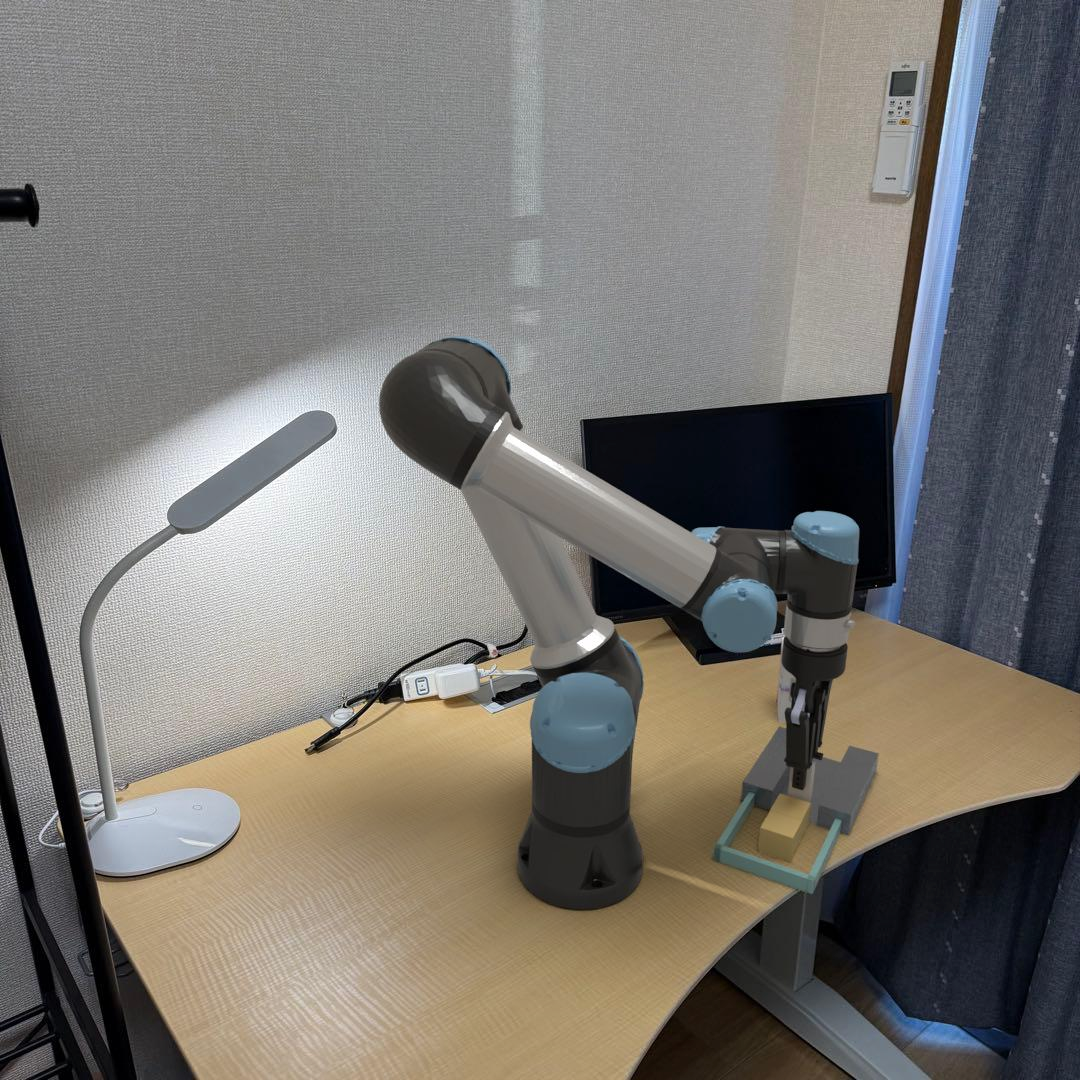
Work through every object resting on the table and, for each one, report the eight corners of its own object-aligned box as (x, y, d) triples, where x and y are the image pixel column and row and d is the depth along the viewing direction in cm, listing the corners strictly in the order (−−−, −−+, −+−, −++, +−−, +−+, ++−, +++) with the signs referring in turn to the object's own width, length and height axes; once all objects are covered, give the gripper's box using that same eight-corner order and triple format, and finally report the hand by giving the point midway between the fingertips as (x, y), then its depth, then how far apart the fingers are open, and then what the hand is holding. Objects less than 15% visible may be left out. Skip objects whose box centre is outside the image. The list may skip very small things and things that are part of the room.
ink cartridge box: (774, 701, 154) (782, 618, 149) (806, 704, 153) (815, 620, 148) (776, 728, 146) (784, 641, 141) (809, 732, 145) (819, 645, 140)
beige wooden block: (798, 846, 119) (801, 819, 118) (767, 836, 121) (770, 809, 120) (807, 829, 122) (810, 803, 121) (777, 819, 124) (779, 793, 123)
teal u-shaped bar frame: (811, 902, 111) (813, 881, 110) (712, 867, 116) (714, 847, 115) (839, 840, 121) (841, 820, 120) (747, 811, 127) (749, 791, 126)
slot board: (847, 842, 121) (851, 814, 119) (740, 808, 127) (742, 781, 126) (875, 779, 134) (878, 753, 132) (776, 751, 140) (779, 726, 139)
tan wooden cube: (789, 865, 116) (792, 838, 114) (757, 854, 118) (760, 827, 116) (799, 847, 119) (802, 820, 118) (767, 836, 121) (770, 810, 119)
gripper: (832, 668, 108) (813, 841, 117) (860, 625, 119) (841, 787, 127) (767, 653, 112) (753, 822, 120) (801, 613, 123) (786, 771, 131)
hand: (799, 804), depth 124 cm, fingers closed
